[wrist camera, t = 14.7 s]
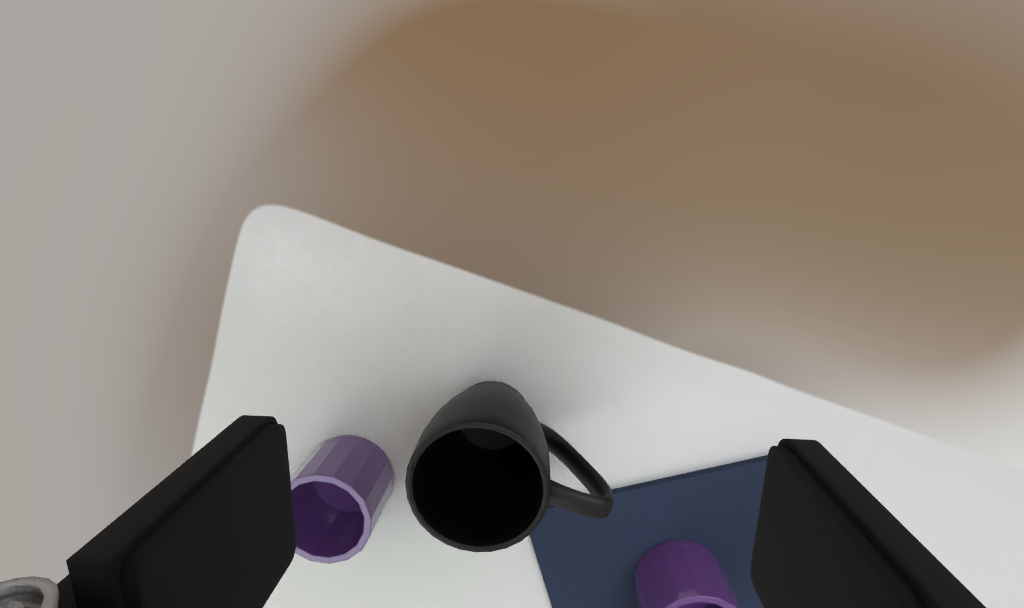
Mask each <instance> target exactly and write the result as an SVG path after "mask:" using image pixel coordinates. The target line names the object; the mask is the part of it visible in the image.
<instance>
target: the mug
mask: <svg viewBox="0 0 1024 608" xmlns="http://www.w3.org/2000/svg"><path fill="white" fill-rule="evenodd" d="M549 451H550V452H551V453H552V454H554V455H555V456H556V457H557V458H558V459H559V460H560V461H561V462H562V463H564V464H565V465H566V467H567V468H568V469H569V470H570V471H571V472H572V473H573V474H574V475H575V476H576V477H577V478H578V479H579V480H580V482H581V483H582V484H583V485H584V486H585V487H586V488H587V490H588V491H589V492H590V493H591V495H589V494H586V493H583V492H580V491H577V490H574V489H571V488H569V487H566V486H564V485H561V484H559V483H557V482H555V481H552V480H550V463H549ZM405 484H406V491H407V499H408V501H409V504H410V507H411V509H412V512H413V514H414V515H415V517H416V518H417V520H418V521H419V523H420V524H421V525H422V526H423V527H424V528H425V529H426V530H427V531H428V532H429V533H430V534H431V535H432V536H434V537H435V538H437V539H438V540H440V541H442V542H443V543H445V544H447V545H450V546H452V547H455V548H458V549H461V550H466V551H472V552H492V551H496V550H500V549H505V548H508V547H510V546H512V545H514V544H516V543H518V542H520V541H522V540H523V539H524V538H525V537H527V536H528V535H529V534H531V533H532V532H533V530H534V529H535V528H536V527H537V526H538V524H539V523H540V522H541V520H542V518H543V516H544V514H545V512H546V510H547V508H548V504H551V505H554V506H556V507H559V508H561V509H564V510H566V511H569V512H572V513H575V514H578V515H581V516H585V517H589V518H595V519H604V518H606V517H607V516H609V514H610V512H611V510H612V506H613V494H612V491H611V489H610V487H609V485H608V484H607V482H606V481H605V480H604V479H603V477H602V476H601V475H600V474H599V473H598V472H597V471H596V470H595V469H594V468H593V467H592V466H591V465H590V464H589V463H588V462H587V461H586V460H585V459H584V458H583V457H582V456H581V455H580V454H579V453H578V452H577V451H576V450H575V449H574V448H573V447H572V446H571V445H570V444H569V443H568V442H567V441H566V440H565V439H564V438H562V437H561V436H560V435H559V434H558V433H557V432H555V431H554V430H552V429H551V428H549V427H548V426H546V425H544V424H541V423H540V422H539V421H538V419H537V417H536V415H535V414H534V412H533V410H532V409H531V407H530V406H529V405H528V403H527V402H526V401H525V399H524V398H523V396H522V395H521V394H520V393H519V392H518V391H517V390H515V389H514V388H512V387H511V386H509V385H506V384H504V383H500V382H494V381H490V382H482V383H478V384H476V385H474V386H472V387H470V388H468V389H467V390H465V391H464V392H462V393H460V394H458V395H456V396H455V397H454V398H452V399H451V400H450V401H449V402H448V403H447V404H446V405H444V406H443V407H442V408H441V409H440V410H439V411H438V412H437V413H436V415H435V416H434V417H433V418H432V420H431V421H430V423H429V424H428V425H427V427H426V428H425V430H424V431H423V433H422V435H421V437H420V439H419V442H418V444H417V446H416V448H415V450H414V452H413V454H412V457H411V459H410V462H409V464H408V467H407V473H406V481H405Z"/></svg>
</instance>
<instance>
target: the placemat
mask: <svg viewBox="0 0 1024 608" xmlns="http://www.w3.org/2000/svg"><path fill="white" fill-rule="evenodd" d="M767 459H768V456H763V457H759V458H754V459H750V460H745V461H740V462H736V463H731V464H727V465H722V466H718V467H713V468H709V469H704V470H700V471H695V472H691V473H686V474H682V475H677V476H673V477H668V478H663V479H659V480H654V481H650V482H645V483H641V484H636V485H632V486H627V487H623V488H618V489H614V490H611V491H612V494H613V506H612V510H611V512H610V514H609V516H607V517H606V518H604V519H595V518H589V517H585V516H581V515H578V514H575V513H572V512H569V511H566V510H564V509H561V508H559V507H556V506H554V505H551V504H548V508H547V510H546V512H545V514H544V516H543V518H542V520H541V522H540V523H539V524H538V526H537V527H536V528H535V529H534V530H533V532H532V533H531V534H530V537H531V540H532V543H533V547H534V550H535V553H536V556H537V559H538V563H539V566H540V569H541V572H542V575H543V579H544V582H545V585H546V588H547V592H548V595H549V598H550V601H551V604H552V608H640V606H639V602H638V597H637V593H636V589H635V583H634V573H635V569H636V566H637V564H638V562H639V560H640V559H641V557H642V556H643V555H644V554H645V553H646V552H647V551H648V550H649V549H651V548H652V547H654V546H656V545H658V544H660V543H663V542H666V541H671V540H687V541H692V542H695V543H698V544H700V545H702V546H704V547H705V548H707V549H708V550H710V551H711V552H712V553H713V554H714V555H715V557H716V558H717V560H718V561H719V563H720V565H721V566H722V568H723V570H724V572H725V574H726V576H727V578H728V581H729V583H730V585H731V587H732V589H733V591H734V593H735V595H736V597H737V600H738V602H739V604H740V606H741V608H764V607H763V605H762V603H761V601H760V599H759V597H758V595H757V593H756V591H755V589H754V587H753V584H752V580H751V572H750V567H751V559H752V553H753V547H754V540H755V534H756V528H757V522H758V515H759V509H760V503H761V496H762V490H763V484H764V477H765V471H766V465H767Z"/></svg>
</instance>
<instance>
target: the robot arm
mask: <svg viewBox="0 0 1024 608" xmlns="http://www.w3.org/2000/svg"><path fill="white" fill-rule="evenodd" d="M295 550H296V532H295V522H294V512H293V501H292V491H291V481H290V471H289V461H288V451H287V441H286V432H285V428H284V426H283V425H282V424H278V423H277V421H276V419H275V418H274V417H271V416H248V415H243V416H241V417H239V418H238V419H237V420H235V421H234V422H233V423H232V424H230V425H229V426H228V427H227V428H226V429H224V430H223V431H222V432H221V433H220V434H218V435H217V436H216V437H215V438H214V439H212V440H211V441H210V442H209V443H207V444H206V445H205V446H204V447H203V448H201V449H200V450H199V451H198V452H197V453H195V454H194V455H193V456H192V457H191V458H189V459H188V460H187V461H186V462H185V463H183V464H182V465H181V466H180V467H179V468H177V469H176V470H175V471H174V472H172V473H171V474H170V475H169V476H168V477H166V478H165V479H164V480H163V481H162V482H160V483H159V484H158V485H157V486H156V487H155V488H153V489H152V490H151V491H150V492H148V493H147V494H146V495H145V496H143V497H142V498H141V499H140V500H139V501H138V502H136V503H135V504H134V505H133V506H131V507H130V508H129V509H128V510H127V511H125V512H124V513H123V514H122V515H121V516H119V517H118V518H117V519H116V520H114V521H113V522H112V523H111V524H110V525H108V526H107V527H106V528H105V529H104V530H102V531H101V532H100V533H99V534H98V535H96V536H95V537H94V538H93V539H91V540H90V541H89V542H88V543H87V544H85V545H84V546H83V547H82V548H81V549H80V550H79V551H77V552H76V553H75V554H73V555H72V556H71V557H70V558H69V559H67V560H66V562H67V566H68V570H69V575H67V576H66V577H65V578H64V579H63V580H62V581H60V582H59V583H58V584H56V583H54V582H53V581H51V580H50V579H48V578H42V577H34V576H33V577H23V578H15V579H12V580H7V581H3V582H0V608H263V606H264V604H265V603H266V601H267V600H268V598H269V597H270V595H271V593H272V592H273V590H274V589H275V587H276V586H277V584H278V582H279V581H280V579H281V578H282V576H283V574H284V573H285V571H286V570H287V568H288V567H289V565H290V563H291V562H292V560H293V557H294V554H295ZM750 572H751V580H752V584H753V587H754V589H755V591H756V593H757V595H758V597H759V599H760V601H761V603H762V605H763V607H764V608H986V607H985V606H984V605H983V604H982V603H981V602H980V601H979V600H978V599H977V598H976V597H975V596H974V595H973V594H972V593H971V592H970V591H969V590H968V589H967V588H966V587H965V586H964V585H963V584H962V583H961V582H960V581H959V580H958V579H957V578H956V577H955V576H954V575H953V574H952V573H950V572H949V571H948V570H947V569H946V568H945V567H944V566H943V565H942V564H941V563H940V562H939V561H938V560H937V559H936V558H935V557H934V556H933V555H932V554H931V553H930V552H929V551H928V550H927V549H926V548H925V547H924V546H923V545H922V544H921V543H920V542H919V541H918V540H917V539H916V538H915V537H914V536H913V535H912V534H911V533H910V532H909V531H908V530H907V529H906V528H905V527H904V526H903V525H902V524H901V523H900V522H899V521H898V520H897V519H896V518H895V517H894V516H893V515H892V514H891V513H890V512H889V511H888V510H887V509H886V508H885V507H884V506H883V505H882V504H881V503H880V502H879V501H878V500H877V499H876V498H875V497H874V496H873V495H872V494H871V493H870V492H869V491H868V490H867V489H866V488H865V487H864V486H863V485H862V484H861V483H860V482H859V481H858V480H857V479H856V478H855V477H854V476H853V475H852V474H851V473H850V472H849V471H848V470H847V469H846V468H845V467H844V466H843V465H842V464H841V463H840V462H838V461H837V460H836V459H835V458H834V457H833V456H832V455H831V454H830V453H829V452H828V451H827V450H826V449H825V448H824V447H823V446H822V445H821V444H820V443H819V442H818V441H816V440H800V439H782V440H781V441H780V442H779V444H778V446H772V447H771V448H770V450H769V453H768V459H767V465H766V471H765V477H764V484H763V490H762V496H761V503H760V509H759V515H758V522H757V528H756V534H755V540H754V547H753V553H752V559H751V567H750Z"/></svg>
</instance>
